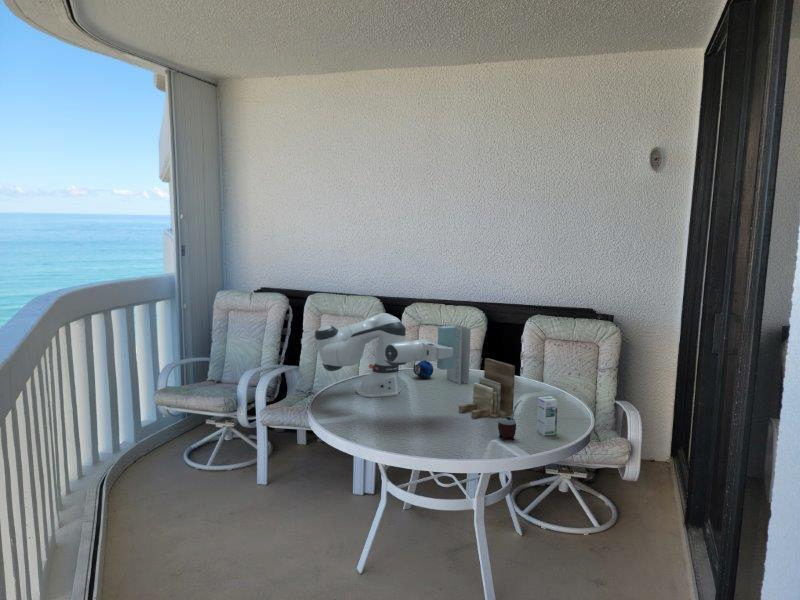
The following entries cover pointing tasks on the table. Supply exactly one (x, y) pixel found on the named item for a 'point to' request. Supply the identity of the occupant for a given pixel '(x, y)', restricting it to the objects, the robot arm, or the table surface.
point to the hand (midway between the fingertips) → (448, 347)
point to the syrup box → (547, 415)
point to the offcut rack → (506, 377)
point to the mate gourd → (507, 426)
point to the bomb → (423, 369)
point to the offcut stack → (487, 395)
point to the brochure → (461, 356)
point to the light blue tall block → (447, 339)
